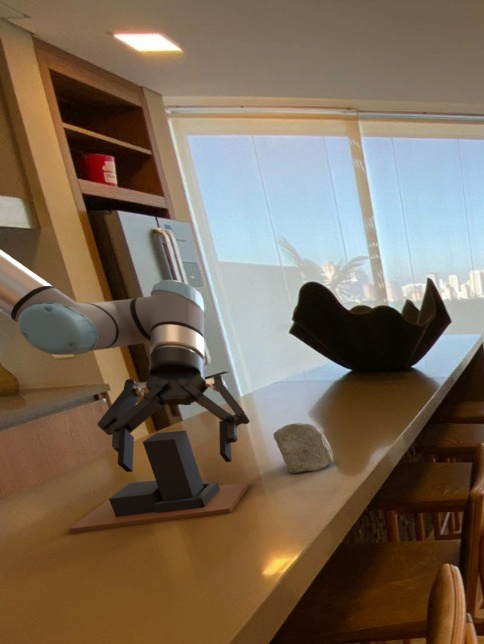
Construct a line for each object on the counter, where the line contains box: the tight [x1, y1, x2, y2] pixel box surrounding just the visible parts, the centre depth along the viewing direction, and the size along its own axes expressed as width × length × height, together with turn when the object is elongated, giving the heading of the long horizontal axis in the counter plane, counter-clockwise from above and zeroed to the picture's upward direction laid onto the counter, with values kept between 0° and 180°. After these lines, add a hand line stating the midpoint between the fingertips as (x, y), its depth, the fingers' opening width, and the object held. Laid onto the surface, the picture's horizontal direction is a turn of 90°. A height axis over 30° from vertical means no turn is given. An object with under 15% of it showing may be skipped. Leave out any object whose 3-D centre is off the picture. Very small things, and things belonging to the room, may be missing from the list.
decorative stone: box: [272, 422, 334, 474], centre depth 112 cm, size 13×11×10 cm
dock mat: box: [68, 479, 250, 534], centre depth 92 cm, size 20×14×4 cm
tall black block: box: [142, 430, 204, 501], centre depth 91 cm, size 4×6×11 cm, turn 23°
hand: (176, 463), depth 92 cm, fingers open, 13 cm apart
